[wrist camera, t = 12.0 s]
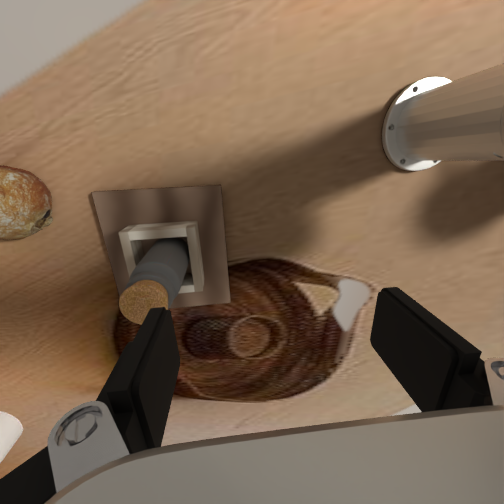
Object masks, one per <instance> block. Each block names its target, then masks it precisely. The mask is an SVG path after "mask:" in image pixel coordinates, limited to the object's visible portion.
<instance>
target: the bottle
mask: <svg viewBox="0 0 504 504" xmlns="http://www.w3.org/2000/svg"><path fill="white" fill-rule="evenodd" d="M189 260H190V255H189V248H188V245H187V243H186V242H185V241H184V240H182V239H181V238H179V237H172V238H160V239H159V240H158V241H157V242H156V243H155V244H154V245H153V246H152V247H151V249H150V250H149V251H148V252H147V254H146V255H145V256H144V257H143V258H142V260H141V261H140V262H139V264H138V265H137V266H136V267H135V269H134V270H133V271H132V273H131V275H130V279H129V282H128V283H127V285H126V287H125V290H124V292H123V293H122V294H121V296H120V299H119V307H120V310H121V312H122V314H123V315H124V316H125V317H126V318H127V319H128V320H130V321H132V322H134V323H137V324H141V325H142V323H143V321H144V319H145V317H146V316H147V314H148V312H149V310H150V308H158V307H165V308H166V310H168V309H169V307H170V306H171V304H172V302H173V300H174V299H175V297H176V296H177V295H178V293H179V291H180V288H181V286H182V283H183V279H184V276H185V273H186V270H187V267H188V264H189Z"/></svg>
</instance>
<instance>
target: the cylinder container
mask: <svg viewBox="0 0 504 504" xmlns="http://www.w3.org/2000/svg"><path fill="white" fill-rule="evenodd" d="M22 432H23V427H22V424H21V423H20V421H19V420H18V419H17V418H15V417H14V416H12V415H10V414H8V413H5V412H1V411H0V463H1V461H2V460H3V459H4V457H5V456H6V455H7V453H8V452H9V450H10V449H11V448H12V446H13V445H14V444H15V442H16V441H17V440H18V438H19V437H20V435H21V434H22Z"/></svg>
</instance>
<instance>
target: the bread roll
mask: <svg viewBox="0 0 504 504" xmlns="http://www.w3.org/2000/svg"><path fill="white" fill-rule="evenodd" d="M51 214H52V200H51V194H50V191H49V190H48V188H47V187H46V185H45V184H44V183H43V182H42V181H41V180H40V179H39V178H38V177H36V176H35V175H34V174H32V173H31V172H29V171H26V170H23V169H18V168H12V167H8V166H0V239H22V238H25V237H27V236H29V235H32V234H34V233H36V232H38V231H39V230H42V227H45V226H48V225H50V224H51V222H52V219H53V218H52V217H51Z"/></svg>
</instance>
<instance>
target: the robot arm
mask: <svg viewBox="0 0 504 504" xmlns="http://www.w3.org/2000/svg"><path fill="white" fill-rule="evenodd" d="M382 142H383V148H384V151H385V153H386V155H387V157H388V159H389V160H390V161H391V162H392V163H393V164H394V165H395V166H397V167H398V168H400V169H403V170H407V171H421V170H425V169H428V168H430V167H433V166H435V165H436V164H438V163H439V162H441V161H504V64H501V65H498V66H495V67H492V68H489V69H486V70H483V71H481V72H478V73H475V74H472V75H469V76H466V77H463V78H460V79H457V80H454V81H450V80H449V79H446V78H444V77H437V76H434V77H427V78H424V79H421V80H419V81H416V82H414V83H412V84H410V85H409V86H408V87H406V88H405V89H404V90H403V91H402V92H401V93H400V94H399V95H398V96H397V97H396V98H395V100H394V101H393V103H392V104H391V106H390V108H389V110H388V112H387V114H386V117H385V120H384V124H383V129H382ZM370 341H371V345H372V347H373V348H374V349H375V351H376V352H377V353H378V355H379V356H380V357H381V359H382V360H383V361H384V363H385V364H386V365H387V367H388V368H389V369H390V370H391V372H392V373H393V374H394V376H395V377H396V378H397V380H398V381H399V382H400V384H401V385H402V386H403V388H404V389H405V390H406V392H407V393H408V394H409V396H410V397H411V398H412V400H413V401H414V402H415V403H416V405H417V406H418V407H419V409H420V410H421V411H422V412H421V413H413V414H405V415H395V416H387V417H378V418H370V419H362V420H354V421H345V422H337V423H329V424H321V425H313V426H305V427H297V428H289V429H281V430H274V431H266V432H258V433H250V434H243V435H235V436H227V437H220V438H213V439H206V440H199V441H193V442H186V443H179V444H172V445H167V446H162V447H161V443H162V439H163V435H164V430H165V426H166V422H167V418H168V413H169V409H170V405H171V401H172V396H173V392H174V388H175V384H176V379H177V375H178V371H179V367H180V356H179V351H178V346H177V341H176V336H175V331H174V326H173V321H172V316H171V312H170V310H166V308H165V307H158V308H150V310H149V312H148V314H147V316H146V317H145V319H144V321H143V323H142V325H141V327H140V329H139V331H138V333H137V335H136V337H135V339H134V340H133V341H131V342H129V343H128V344H127V345H126V347H125V348H124V350H123V352H122V354H121V356H120V358H119V359H118V361H117V363H116V365H115V367H114V369H113V370H112V372H111V374H110V376H109V378H108V380H107V381H106V383H105V385H104V387H103V389H102V391H101V392H100V394H99V396H98V398H97V400H96V401H90V402H87V403H83V404H81V405H79V406H77V407H75V408H73V409H72V410H71V411H69V412H68V413H66V414H65V415H64V416H63V417H62V418H61V419H60V420H59V421H58V422H57V423H56V425H55V426H54V427H53V429H52V430H51V432H50V435H49V437H48V446H47V447H45V448H44V449H43V450H41V451H40V452H38V453H37V454H35V455H34V456H33V457H31V458H30V459H28V460H27V461H26V462H24V463H23V464H21V465H20V466H18V467H17V468H16V469H14V470H13V471H11V472H10V473H9V474H7V475H6V476H4V477H3V478H1V479H0V504H504V358H496V357H493V358H488V359H487V360H486V361H485V362H484V361H483V360H482V359H480V355H481V353H482V352H481V351H480V350H478V349H477V348H476V347H475V346H473V345H472V344H471V343H469V342H468V341H467V340H465V339H464V338H463V337H462V336H460V335H459V334H458V333H456V332H455V331H454V330H452V329H451V328H450V327H449V326H447V325H446V324H445V323H443V322H442V321H441V320H439V319H438V318H437V317H436V316H434V315H433V314H432V313H430V312H429V311H428V310H426V309H425V308H424V307H423V306H421V305H420V304H419V303H417V302H416V301H415V300H413V299H412V298H411V297H410V296H408V295H407V294H406V293H404V292H403V291H402V290H400V289H399V288H397V287H391V288H383V289H382V290H381V292H379V293H378V297H377V303H376V308H375V314H374V320H373V326H372V331H371V337H370Z"/></svg>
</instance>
